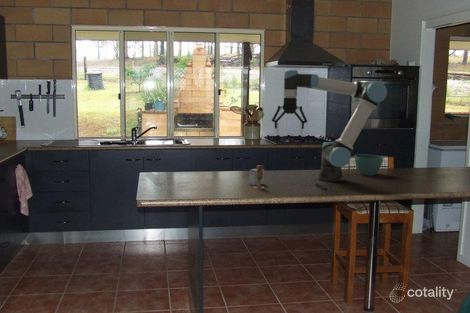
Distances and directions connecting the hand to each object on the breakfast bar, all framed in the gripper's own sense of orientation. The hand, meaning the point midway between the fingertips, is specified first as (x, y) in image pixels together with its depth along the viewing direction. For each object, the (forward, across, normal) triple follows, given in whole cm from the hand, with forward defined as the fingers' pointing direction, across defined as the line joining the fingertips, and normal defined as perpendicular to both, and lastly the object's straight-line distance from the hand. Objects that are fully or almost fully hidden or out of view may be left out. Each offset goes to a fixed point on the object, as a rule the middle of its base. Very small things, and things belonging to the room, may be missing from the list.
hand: (288, 134), depth 292 cm
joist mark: (+29, +17, +15) cm, 37 cm away
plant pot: (+29, -56, -37) cm, 73 cm away
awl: (+28, +17, +15) cm, 36 cm away
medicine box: (+29, +18, +5) cm, 34 cm away
